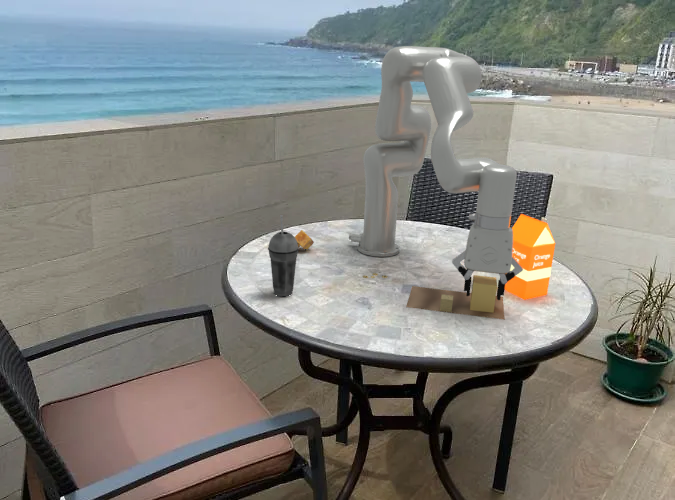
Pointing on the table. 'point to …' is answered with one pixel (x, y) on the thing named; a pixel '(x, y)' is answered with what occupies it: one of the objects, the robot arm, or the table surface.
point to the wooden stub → (446, 303)
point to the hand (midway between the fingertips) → (483, 295)
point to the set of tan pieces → (375, 275)
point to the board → (460, 305)
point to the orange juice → (531, 258)
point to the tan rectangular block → (483, 293)
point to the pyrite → (303, 240)
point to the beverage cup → (283, 261)
